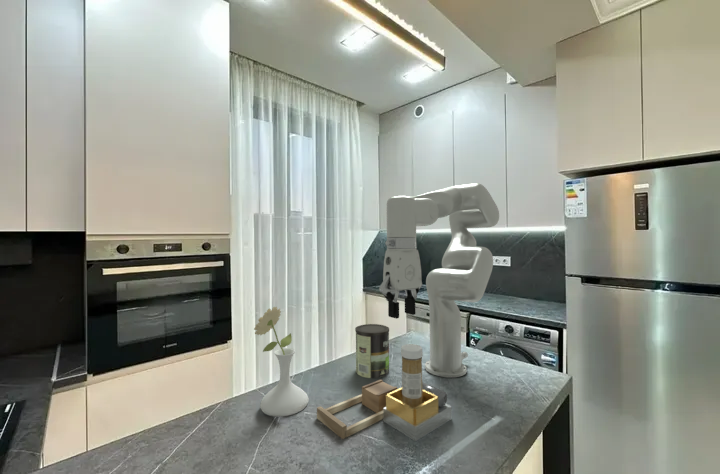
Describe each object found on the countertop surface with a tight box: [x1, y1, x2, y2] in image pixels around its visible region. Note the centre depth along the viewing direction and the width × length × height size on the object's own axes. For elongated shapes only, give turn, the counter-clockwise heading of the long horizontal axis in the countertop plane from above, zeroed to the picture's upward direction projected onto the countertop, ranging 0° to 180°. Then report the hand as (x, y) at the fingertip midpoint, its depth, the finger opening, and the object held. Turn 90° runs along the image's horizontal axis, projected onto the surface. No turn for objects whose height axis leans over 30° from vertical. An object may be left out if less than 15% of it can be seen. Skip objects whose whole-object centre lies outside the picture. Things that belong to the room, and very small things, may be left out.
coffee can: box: [354, 323, 390, 379], centre depth 95 cm, size 10×10×14 cm
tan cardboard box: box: [361, 378, 398, 414], centre depth 75 cm, size 6×6×4 cm
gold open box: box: [383, 381, 452, 442], centre depth 69 cm, size 12×9×7 cm
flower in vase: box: [253, 306, 310, 418], centre depth 75 cm, size 13×11×25 cm
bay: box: [316, 393, 384, 440], centre depth 72 cm, size 18×10×4 cm, turn 130°
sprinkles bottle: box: [400, 343, 423, 408], centre depth 68 cm, size 5×5×14 cm
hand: (402, 314), depth 80 cm, fingers open, 5 cm apart
